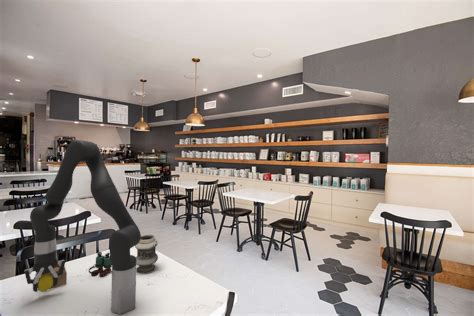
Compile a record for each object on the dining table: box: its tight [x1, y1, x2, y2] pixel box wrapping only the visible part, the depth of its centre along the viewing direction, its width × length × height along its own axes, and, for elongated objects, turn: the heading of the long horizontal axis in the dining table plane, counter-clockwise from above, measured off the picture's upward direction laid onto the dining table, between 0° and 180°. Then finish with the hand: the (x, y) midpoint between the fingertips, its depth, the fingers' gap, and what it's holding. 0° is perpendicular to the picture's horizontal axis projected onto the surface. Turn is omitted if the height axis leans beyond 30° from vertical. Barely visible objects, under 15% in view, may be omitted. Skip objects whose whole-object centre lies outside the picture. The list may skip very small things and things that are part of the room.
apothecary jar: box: [134, 234, 159, 274], centre depth 128 cm, size 12×12×18 cm
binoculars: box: [88, 251, 112, 278], centre depth 121 cm, size 9×11×10 cm
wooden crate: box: [40, 264, 68, 293], centre depth 111 cm, size 9×9×8 cm
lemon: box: [37, 273, 54, 293], centre depth 101 cm, size 6×6×8 cm
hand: (45, 288), depth 101 cm, fingers closed on lemon, 5 cm apart
